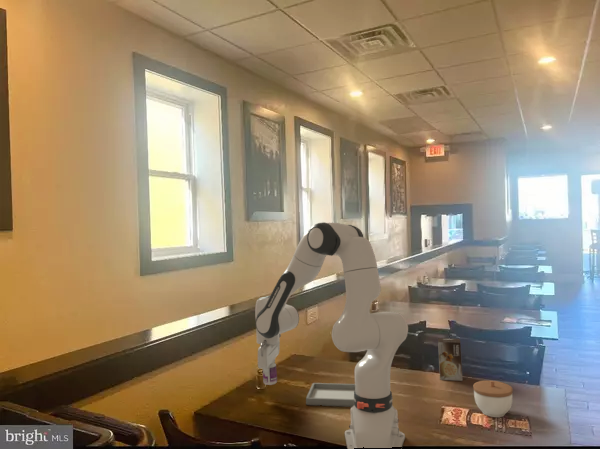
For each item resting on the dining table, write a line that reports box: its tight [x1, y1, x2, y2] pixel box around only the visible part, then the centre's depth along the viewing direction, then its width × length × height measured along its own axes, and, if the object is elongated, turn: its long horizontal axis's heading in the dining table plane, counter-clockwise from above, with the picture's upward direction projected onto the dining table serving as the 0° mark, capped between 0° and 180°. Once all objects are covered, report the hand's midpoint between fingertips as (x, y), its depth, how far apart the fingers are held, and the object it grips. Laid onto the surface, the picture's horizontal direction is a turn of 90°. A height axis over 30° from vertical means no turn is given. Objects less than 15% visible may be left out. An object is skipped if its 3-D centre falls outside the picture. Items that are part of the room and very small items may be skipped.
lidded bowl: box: [472, 380, 514, 418], centre depth 160 cm, size 13×13×11 cm
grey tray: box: [305, 382, 355, 408], centre depth 179 cm, size 16×21×2 cm
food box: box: [437, 337, 464, 382], centre depth 195 cm, size 9×6×16 cm
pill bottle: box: [262, 358, 278, 386], centre depth 180 cm, size 5×5×10 cm
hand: (269, 373), depth 180 cm, fingers closed on pill bottle, 5 cm apart
